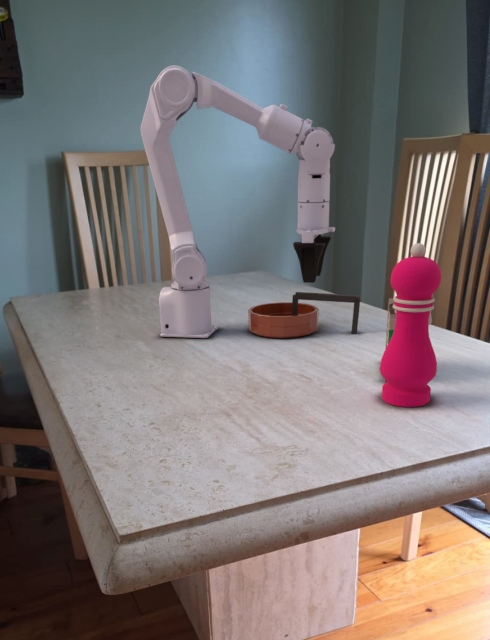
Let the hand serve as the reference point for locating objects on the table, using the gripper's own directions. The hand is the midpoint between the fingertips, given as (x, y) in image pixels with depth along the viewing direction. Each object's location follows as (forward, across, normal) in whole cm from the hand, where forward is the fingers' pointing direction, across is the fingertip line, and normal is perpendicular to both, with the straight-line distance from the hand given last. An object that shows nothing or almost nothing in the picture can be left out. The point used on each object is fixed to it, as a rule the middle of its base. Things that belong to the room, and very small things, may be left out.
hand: (312, 278), depth 118 cm
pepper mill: (+10, -39, -18) cm, 44 cm away
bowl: (+9, -3, +5) cm, 11 cm away
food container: (+10, -27, -18) cm, 34 cm away
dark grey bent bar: (+9, -3, -1) cm, 10 cm away
